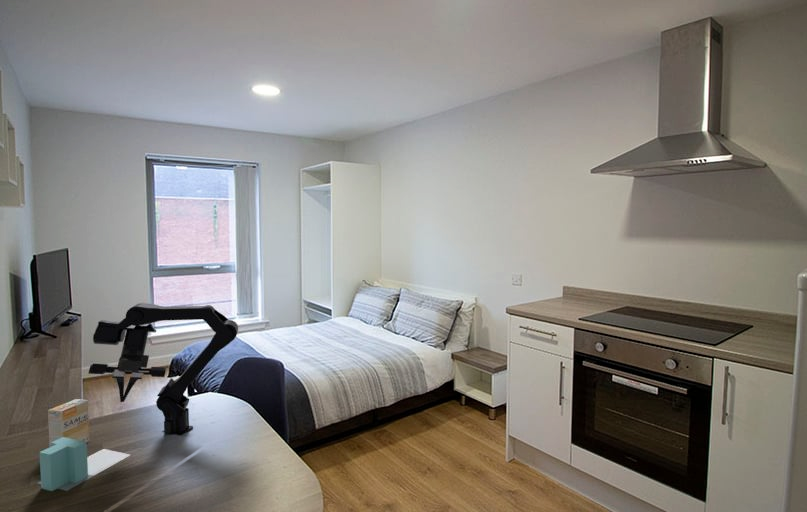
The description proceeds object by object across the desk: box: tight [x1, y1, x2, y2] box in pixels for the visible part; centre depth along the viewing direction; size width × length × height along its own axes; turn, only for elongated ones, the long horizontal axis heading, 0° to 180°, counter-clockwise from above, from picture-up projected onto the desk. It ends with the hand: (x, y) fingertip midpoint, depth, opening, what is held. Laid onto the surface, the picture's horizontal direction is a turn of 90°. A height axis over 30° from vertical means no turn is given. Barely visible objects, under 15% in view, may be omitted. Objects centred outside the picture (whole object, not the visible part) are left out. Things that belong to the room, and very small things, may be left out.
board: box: [37, 448, 131, 492], centre depth 113 cm, size 17×10×1 cm, turn 163°
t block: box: [39, 437, 88, 492], centre depth 107 cm, size 7×8×9 cm
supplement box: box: [47, 398, 90, 448], centre depth 123 cm, size 8×5×13 cm, turn 168°
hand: (122, 402), depth 124 cm, fingers closed
